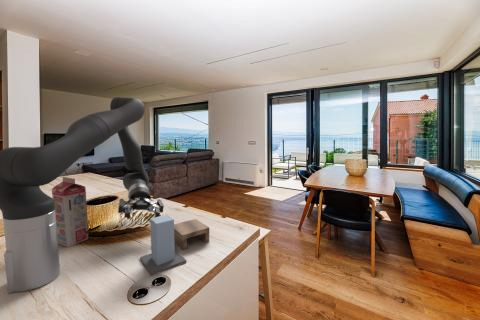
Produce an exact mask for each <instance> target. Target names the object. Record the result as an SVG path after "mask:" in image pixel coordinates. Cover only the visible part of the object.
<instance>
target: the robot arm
mask: <svg viewBox="0 0 480 320" xmlns="http://www.w3.org/2000/svg"><path fill="white" fill-rule="evenodd" d="M109 105H110V106H109V108H110V109H108V110H103V111H99V112H98V111H97V112H94V113H90V114H88V115H85V116H83V117H81V118H79V119H77V120H75V121H73V122H72V123H71V125H69V126H68V129H67V131H66V133H65V134H64V135H63V136H62V137H60V138H59V139H56V140H54V141H52V142H50V143H47V144H45V145H42V146H36V147H35V146H33V147H31V146H29V147H27V146H13V147H12V146H11V147H7V148H3V149H1V150H0V211H1V214H2V221H3V222H2V223H3V233H4V240H5V241H4V243H5V252H4V255H3V256H4V266H5V267H4V269H5V275H6V276H5V278H6V285H7V294H11V293H14V292H15V293H16V292H26V291H30V290H31V291H32V290H34V289H37V288H38V289H39V288H41V287H43V286H45V285H47V284H49V283H51V282H53V281H54V280H55V279H56V278H58V276H59V275H60V274H61V268H60V266H61V264H60V255H59V253H60V252H59V244H58V239H57V226H56V213H55V202H54V199H53V197H51V196H49V195H48V194H46V193H45V192H43V190H42V189H41V188H40V187H41V186H46V185H48V184H50V183H52V182H54V181H55V180H56V179H58V178H59V177H60V176H61V175H62V174H63V173H64V172H65V171H67V170H68V169H69V168H70V167H71V166H72V165H73V164H74V163H76V162H77V161H78V160H80V158H83V156H85V155H87V154H89V153H90V152H91V151H92V150H93V149H95V148H97V147H99V146H100V145H101V144H103V143H105V142H106V141H107V140H108V139H110V138H111V137H113V136H114V135H117V136H118V138H119V142H120V144H121V148H122V155H123V161H124V166H125V168H126V169H127V170H131V171H137V172H130V173H127V174H125V175H124V176H123V178H122V184H123V186H124V188H125V190H127V191H128V194H127V198H128V200H124V198H120V199H119V204H118V210H117V213H118V214H122V213H124V218H126V219H127V220H130V219H131V213H133V212H135V211H147V212H148V213H153V214H154V217H159V216H161V215H160V214H161V213H164V209H165V208H164V207H165V205H164V203H163V201H162V199H159V198H157V200H156V201H154V200H153V199H152V196H151V192H150V190H149V188H148V185H149V183H150V178H149V177H150V176H149V175H148V173H147V171H146V169H145V166H144V162H143V154H142V150H141V147H140V144H139V143H138V141H137V140H136V139H135V137H134V136H133V134H132V132H131V130H130V129H129V126H130V125H133V124H134V123H137V122H139V121H140V120H142V118H143V117H144V115H145V111H146V108H145V105H144V102H143V101H141V100H140V99H139V98H136V97H129V96H127V97H126V96H116V97H113V98H112V99H111V101H110V104H109Z"/></svg>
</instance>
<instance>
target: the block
mask: <svg viewBox="0 0 480 320" xmlns="http://www.w3.org/2000/svg"><path fill="white" fill-rule="evenodd" d="M149 219H150V220H149V221H150V222H149V223H150V252H151V253H150V254H151V258H152V259H153V260H154V262H155V263H156V264H157V265H160V264H163V263H166V262H168V261H171V260H174V259H175V249H176V248H175V243H174V224H175V219H174V218H173V217H171V216H170V215H168V214H165V215H164V214H163V215H160V216H159V217H155V216H154V217H151V218H149Z"/></svg>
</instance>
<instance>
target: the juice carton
mask: <svg viewBox="0 0 480 320" xmlns="http://www.w3.org/2000/svg"><path fill="white" fill-rule="evenodd" d="M86 191H87V190H86V186H84V185H82V184H78V183H76V179H75V178H72V177H65V176H62V182H60V183H58V184H56V185H55V186H54V187H52V188H51V195H52V197H51V198H53V199H54V202H55V213H56V226H57V239H58V245H60V246H63V247H66V248H69V247H71V246H74V245H76V244H79V243H82V242H84V241H86V240H89V233H88V234H86V233H85V231H88V232H89V230H88V220H87V214H88V209H87V208H88V206H87V192H86Z"/></svg>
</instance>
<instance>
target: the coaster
mask: <svg viewBox="0 0 480 320" xmlns="http://www.w3.org/2000/svg"><path fill="white" fill-rule="evenodd" d="M139 259H140V261H141V263H142V264H143V265H144V267H145V270H147V272H148V273H149V274H150V276H154V275H157V274H158V273H162V272H164V271H166V270H169V269H172V268H175V267H177V266H180V265H182V264H185V263H187V259H186V258H185V257H184V256H183V255H182V254H181V253H180V252H179V251H177V249H176V248H175V259H174V260H171V261H168V262H166V263H163V264H160V265H157V264H156V263H155V262H154V260H153V259H152V258H151V253H149V254H145V255H142V256H140V257H139Z"/></svg>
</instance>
